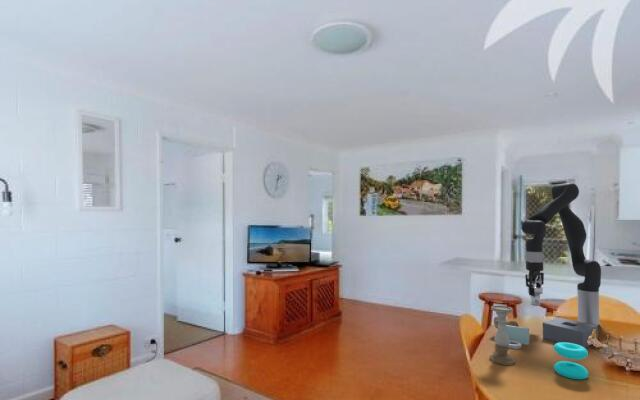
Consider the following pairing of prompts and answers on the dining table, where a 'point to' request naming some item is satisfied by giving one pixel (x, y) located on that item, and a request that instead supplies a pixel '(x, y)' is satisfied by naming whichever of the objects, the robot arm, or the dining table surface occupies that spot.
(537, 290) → the steel pin
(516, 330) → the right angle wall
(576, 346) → the donuts
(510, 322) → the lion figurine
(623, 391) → the dining table surface
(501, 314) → the candle holder
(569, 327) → the socket block
